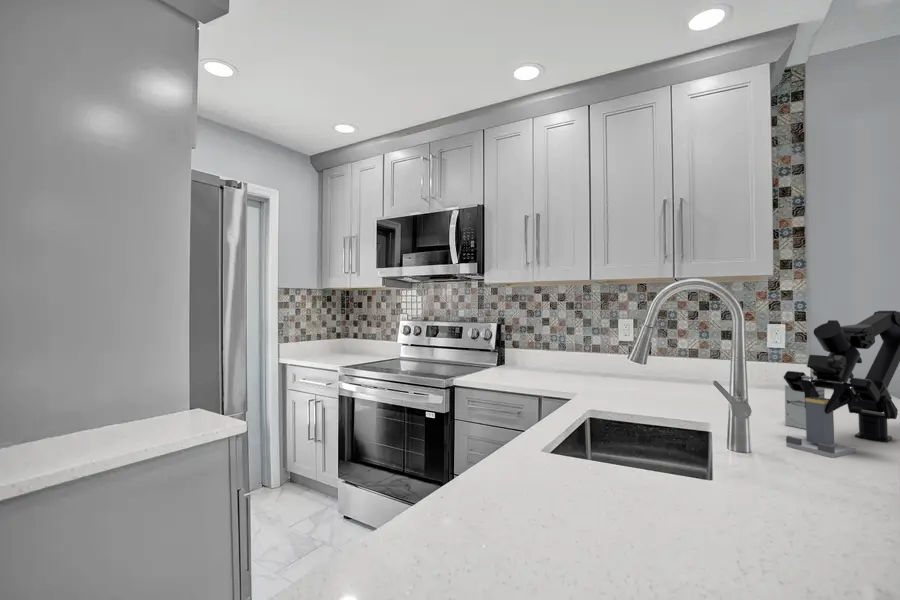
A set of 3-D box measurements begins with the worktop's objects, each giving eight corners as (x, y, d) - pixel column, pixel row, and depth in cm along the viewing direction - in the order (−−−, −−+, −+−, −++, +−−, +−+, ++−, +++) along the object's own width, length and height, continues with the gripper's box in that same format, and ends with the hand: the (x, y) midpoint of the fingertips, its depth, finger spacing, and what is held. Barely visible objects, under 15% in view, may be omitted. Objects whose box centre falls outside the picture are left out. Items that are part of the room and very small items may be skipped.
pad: (809, 441, 117) (809, 432, 117) (855, 452, 108) (855, 442, 108) (786, 446, 113) (786, 436, 114) (832, 457, 104) (832, 447, 104)
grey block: (815, 439, 114) (814, 396, 114) (834, 443, 110) (833, 399, 110) (806, 441, 112) (805, 398, 112) (825, 445, 108) (823, 400, 109)
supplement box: (784, 425, 134) (783, 384, 135) (798, 422, 137) (797, 382, 138) (812, 431, 128) (811, 387, 128) (826, 428, 131) (825, 385, 131)
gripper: (786, 341, 122) (762, 384, 117) (872, 346, 105) (847, 396, 100) (804, 368, 125) (781, 411, 120) (890, 377, 107) (867, 427, 103)
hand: (816, 410), depth 111 cm, fingers closed on grey block, 4 cm apart
